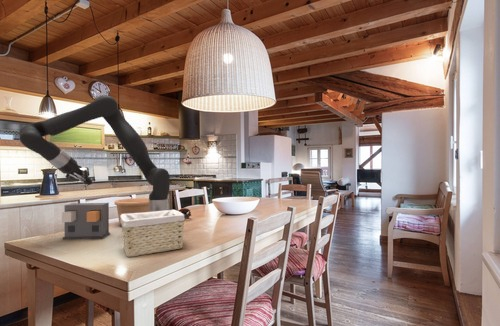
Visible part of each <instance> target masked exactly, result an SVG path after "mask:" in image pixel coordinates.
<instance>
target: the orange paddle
mask: <svg viewBox="0 0 500 326" xmlns="http://www.w3.org/2000/svg"><path fill="white" fill-rule="evenodd" d="M99 220H101V211H89V212H87V222H96V221H99Z"/></svg>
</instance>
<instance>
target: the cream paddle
mask: <svg viewBox="0 0 500 326" xmlns="http://www.w3.org/2000/svg"><path fill="white" fill-rule="evenodd" d="M75 220H77V211H66V212H65V211H63V212H61V222H62V223H65V222H73V221H75Z"/></svg>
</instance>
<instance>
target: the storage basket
mask: <svg viewBox="0 0 500 326" xmlns="http://www.w3.org/2000/svg"><path fill="white" fill-rule="evenodd" d="M177 210H178V209H168V210H165V211H154V212H143V213H129V214H121V215H120V218H121V219H120V223H121V224H122V227H121V229H122V231H121V232H122V241H123V249H124V252H125V254H126V257H128V258H130V257H137V256H145V255H150V254H156V253H164V252H167V251H168V252H169V251H173V250H179V249H182V248H183V245H184V244H183V241H184V227H185V226H184V225H185V220H186V219H185V218H184V214H182V213H181V212H179V211H177Z"/></svg>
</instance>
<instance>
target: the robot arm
mask: <svg viewBox="0 0 500 326" xmlns="http://www.w3.org/2000/svg"><path fill="white" fill-rule="evenodd" d="M100 118H103V119H104V121H106V123H107V124H108V125H109V126H110V127H111V129H112V131H113V133H114V134H115V136H116V138H117V140H118V141H119V143H120V145H121V146H122V147H123V148H124V150H125V151H126V152H127V154H128V155H129V157H130V158H131V159H132V160H133V162H134V163H135V165H136V166H138V168H139V170H140V172H142V175H143V177H144V178H145V179H146V182H148V184H149V185H151V186H152V191H151V193H149V194H148V198H149V212H154V211H165V210H169V208H168V207H169V205H168V204H169V198H168V197H169V194H170V187H171V185H170V184H171V183H170V182H171V178H170V173H169V171H168V170H167V169H165V168H163V167H161V168H160V167H159V168H158V167H157V165H156V164H155V163H154V162H153V161H152V159H151V158H150V156H149V152H148V151H149V150H148V147H147V144H146V143H145V141H144V140H143V139H142V138H141V136H140V134H139V133H138V132H137V131H136V130H135V129H134V127H133V126H132V125H131V124H130V123H129V122H128V121H127V120H126V119H125V117H124V115H123V114H122V112H121V111H120V109H119V107H118V102H117V100H116V99H115V97H114V98H113V97H112V96H111V95H107V94H103V95H99V96H97V97H96V98H95V100H93V101H91V102H89V103H88V104H86V105H85V106H82V107H79V108H77V109H74V110H71V111H67V112H63V113H61V114H57V115H55V116H53V117H50V118H47V119H46V120H41V121H36V122H32V123H28V124H25V125H24V126H22V127H21V128H20V129H19V133H18V134H19V135H18V136H19V141H20V143H21V144H22V145H23V146H24V147H25V148H27V149H28V150H30V151H32V152H34V153H36V154H38V155H40V157H42V158H44V159H45V160H46V161H47V162H49V164H51V165H52V166H53V167H54V168H56V169H57V170H58V171H60V172H61V173H62V174H66V175H65V176H64V177H65V178H66V179H69V180H73V181H76V182H79V181H81V182H83V183H84V184H86V185H87V186H89V185H90V186H91V185H92V184H93V180H92V179H90V171H89V169H90V168H89V167H88V166H87V167H82V166H81V165H79V164H78V161H77V160H75V159H74V158H73V157H72V156H71V155H70V154H68V153H67V152H66V151H65V150H62V149H61V148H60V146H57V145H56V144H55V143H54V142H52V141H48V140H46V139H45V138H44V137H45V136H52V137H53V136H57V135H59V134H62V133H64V132H66V131H70V130H71V129H73V128H74V129H75V127H78V126H80V125H83V124H85V123H87V122H90V121H93V120H96V119H100Z"/></svg>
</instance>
